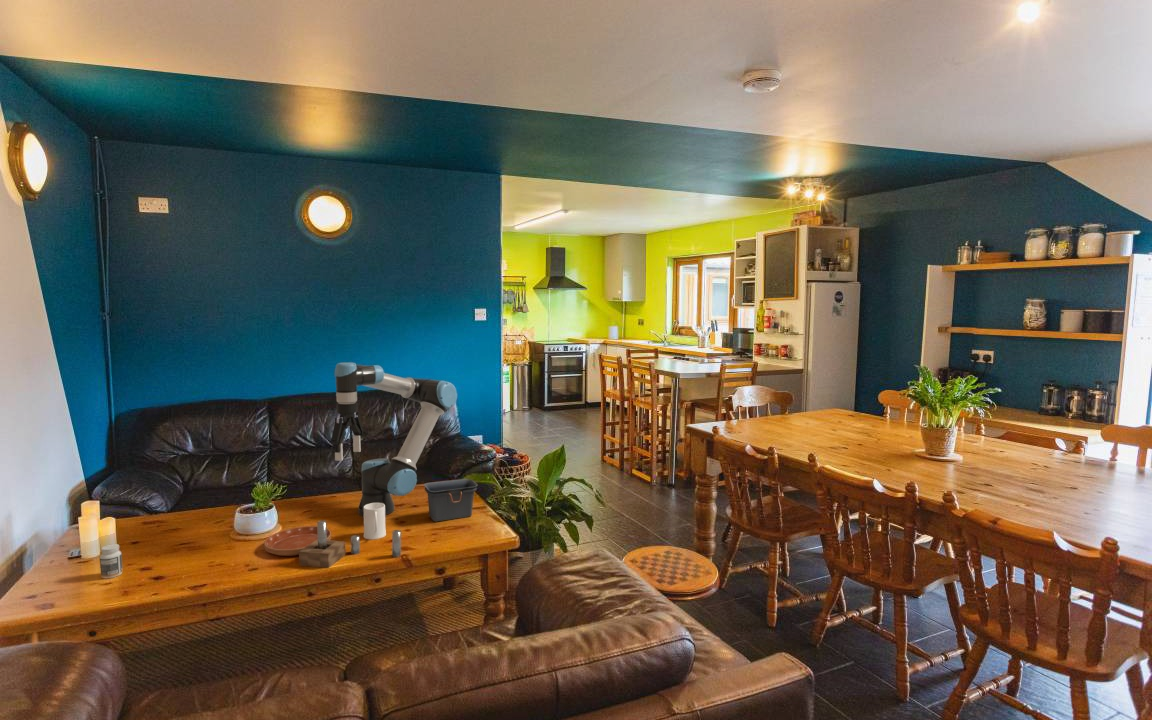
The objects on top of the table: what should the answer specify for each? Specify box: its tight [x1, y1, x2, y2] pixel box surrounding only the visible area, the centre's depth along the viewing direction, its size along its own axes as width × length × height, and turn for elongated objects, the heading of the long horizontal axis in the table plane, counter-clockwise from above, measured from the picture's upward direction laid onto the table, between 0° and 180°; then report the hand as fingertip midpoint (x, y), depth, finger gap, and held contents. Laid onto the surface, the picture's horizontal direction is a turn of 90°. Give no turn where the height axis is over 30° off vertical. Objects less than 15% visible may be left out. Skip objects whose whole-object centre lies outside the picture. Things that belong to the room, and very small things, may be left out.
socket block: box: [298, 539, 346, 569], centre depth 212 cm, size 11×11×5 cm
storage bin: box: [423, 478, 478, 523], centre depth 256 cm, size 21×16×14 cm
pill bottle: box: [99, 543, 124, 580], centre depth 198 cm, size 6×6×10 cm
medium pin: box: [391, 529, 402, 558], centre depth 217 cm, size 3×3×9 cm
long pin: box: [316, 520, 328, 550], centre depth 212 cm, size 3×3×14 cm
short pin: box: [350, 534, 361, 555], centre depth 219 cm, size 3×3×6 cm
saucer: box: [263, 525, 332, 557], centre depth 225 cm, size 23×23×4 cm
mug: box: [363, 503, 387, 540], centre depth 234 cm, size 12×8×12 cm
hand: (348, 455), depth 234 cm, fingers open, 13 cm apart
